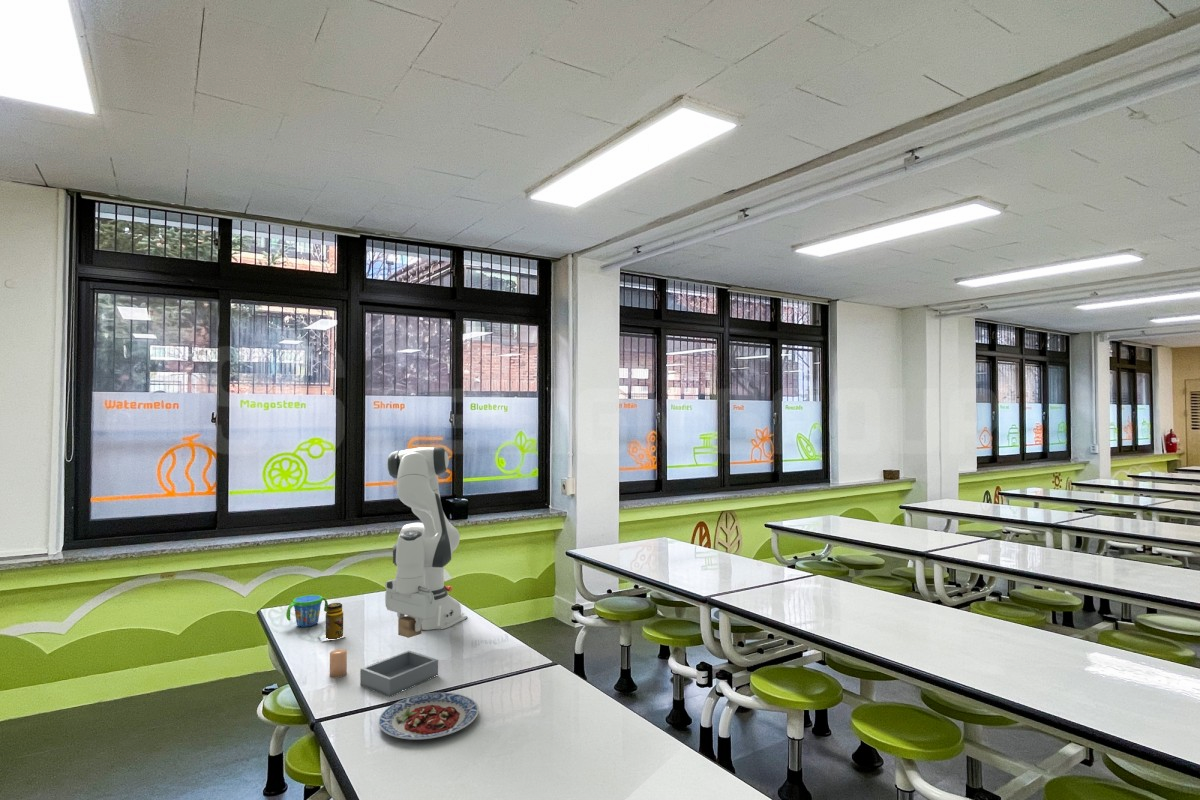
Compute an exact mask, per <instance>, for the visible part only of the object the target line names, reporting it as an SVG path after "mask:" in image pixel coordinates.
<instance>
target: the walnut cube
mask: <svg viewBox="0 0 1200 800" xmlns="http://www.w3.org/2000/svg"><path fill="white" fill-rule="evenodd" d="M397 621H398V623H397V633H398V634H397V635H398V636H401V637H404V638H407V639H410V638H413V637H416V636H418V635H421V634H422V633H423V631H422V624H421V630H420V631H418V632H416V631H413V625H415V624H416V621H415V617H412V616H408V615H405V617H402V618H399V619H398V620H397Z"/></svg>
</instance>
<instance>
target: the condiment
mask: <svg viewBox="0 0 1200 800" xmlns="http://www.w3.org/2000/svg"><path fill="white" fill-rule="evenodd" d="M343 634H344V611H343V604H342V602H332V603H329V604H328V605H327V612H325V635H326V638H328V639H337V638H340V637H342V636H343Z"/></svg>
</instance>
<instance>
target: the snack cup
mask: <svg viewBox="0 0 1200 800" xmlns="http://www.w3.org/2000/svg"><path fill="white" fill-rule="evenodd" d="M323 601H324V607H323V610H324V612H325V613H326V612H327V605H329V604H328V601H327V599H326V598H325V597H323V596H321V595H319V594H318V595H317V594H307V595H301V596H298V597H295V598H294V599H292V602H291V603H290V604H289V605H288V607H287V609H286V613H285V614H286V615H285V617H286V619H287V620H288V621H291V609H292V608H294V614H295V615H294V616H295V620H296V625H297V627H298V626H299V627H300V626H301V627H300V628H308V627H307V626H309V627H312V626H315V625H314V624H316V623H317V622H318V623H319V619H320V613H321V605H322V602H323ZM318 623H317V624H318ZM317 624H316V625H317ZM311 625H312V626H311Z"/></svg>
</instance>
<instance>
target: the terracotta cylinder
mask: <svg viewBox="0 0 1200 800" xmlns="http://www.w3.org/2000/svg"><path fill="white" fill-rule="evenodd" d="M347 662H348V651H347V649H344V648H339V649H338V648H337V649H334V650H331V651H330V652H329V677H330V678H332V677H334V678H335V677H338V678H341V676H342V677H345V676H347V673H348V668H347V667H348V664H347ZM344 675H345V676H344ZM335 679H336V678H335Z"/></svg>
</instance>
